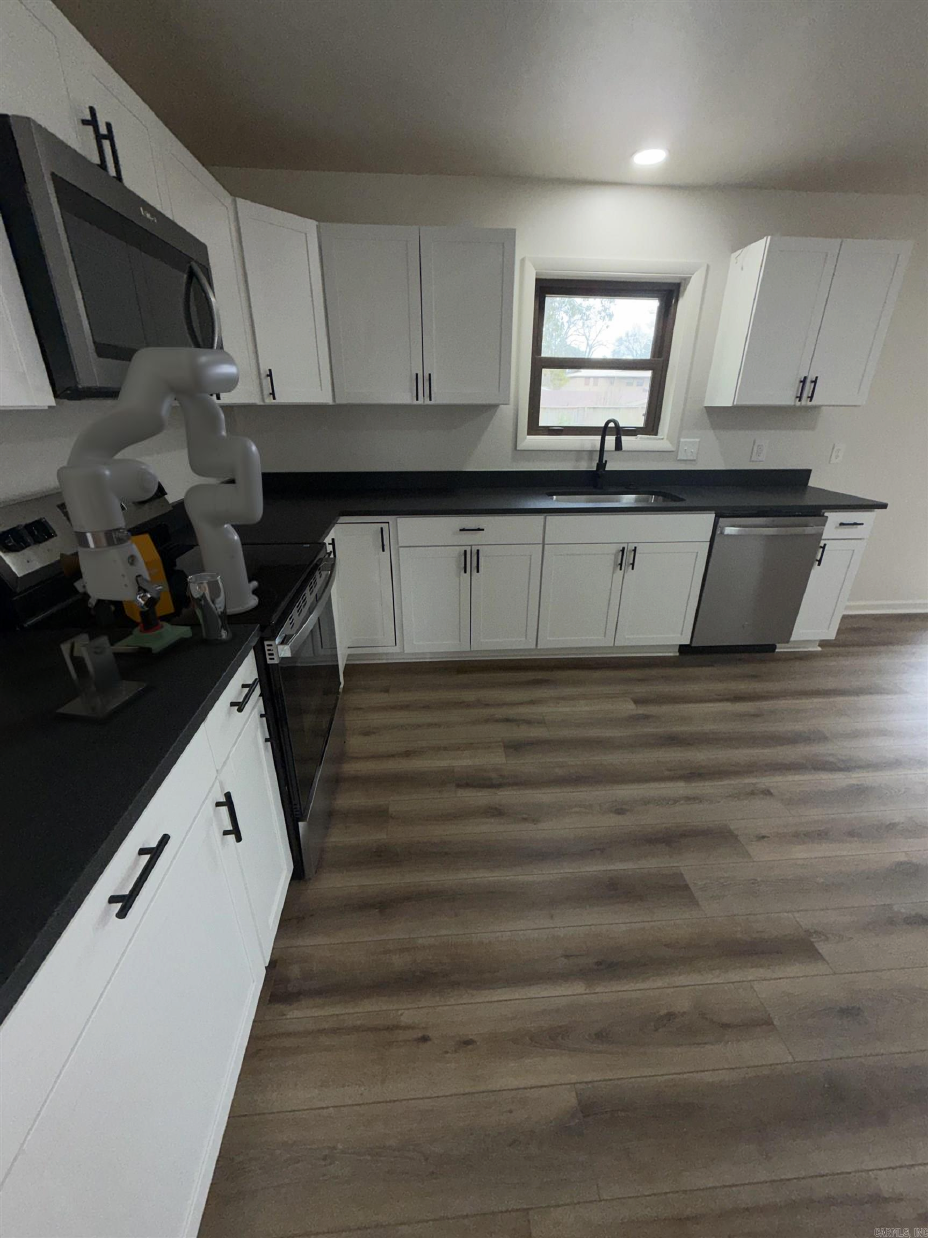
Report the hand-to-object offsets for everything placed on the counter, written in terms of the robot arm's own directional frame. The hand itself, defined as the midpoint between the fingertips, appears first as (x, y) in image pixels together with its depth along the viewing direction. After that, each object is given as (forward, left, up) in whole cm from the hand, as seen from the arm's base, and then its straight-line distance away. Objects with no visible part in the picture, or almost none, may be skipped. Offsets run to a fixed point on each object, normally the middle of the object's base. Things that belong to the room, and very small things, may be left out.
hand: (129, 626), depth 94 cm
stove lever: (+5, 0, -4) cm, 6 cm away
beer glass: (-18, +4, -11) cm, 21 cm away
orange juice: (-28, -22, -11) cm, 37 cm away
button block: (-13, -8, -11) cm, 19 cm away
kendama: (-26, -34, -11) cm, 44 cm away
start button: (-13, -8, -7) cm, 17 cm away
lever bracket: (+9, 0, -11) cm, 14 cm away
